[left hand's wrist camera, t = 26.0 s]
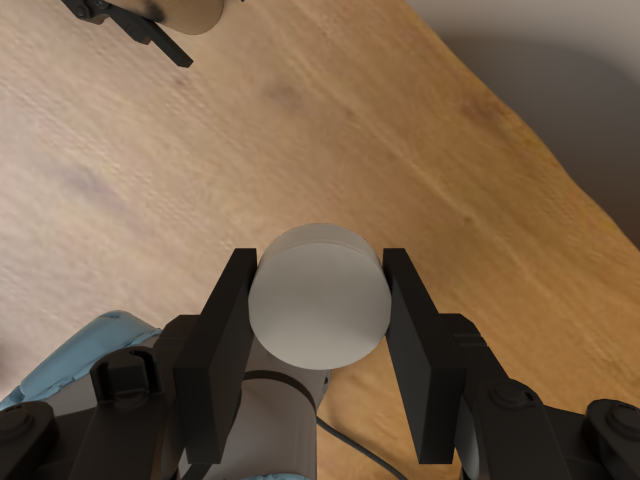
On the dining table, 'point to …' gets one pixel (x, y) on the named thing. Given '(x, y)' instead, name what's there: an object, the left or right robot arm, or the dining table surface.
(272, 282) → the cap
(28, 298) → the dining table surface
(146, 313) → the dining table surface
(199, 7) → the bottle
